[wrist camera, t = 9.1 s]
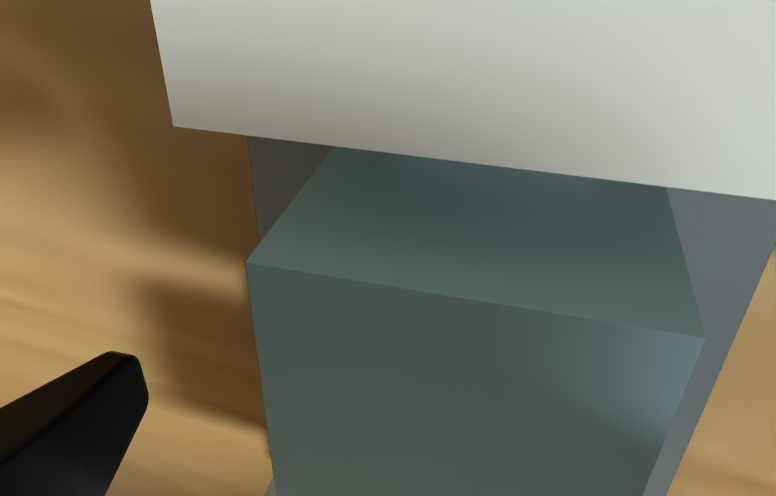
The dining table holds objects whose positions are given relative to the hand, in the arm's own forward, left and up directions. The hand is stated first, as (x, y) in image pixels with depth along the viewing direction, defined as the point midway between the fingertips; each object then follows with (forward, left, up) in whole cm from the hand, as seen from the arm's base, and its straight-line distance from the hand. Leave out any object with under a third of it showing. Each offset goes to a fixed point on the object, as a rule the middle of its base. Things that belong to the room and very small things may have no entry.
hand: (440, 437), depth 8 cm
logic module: (0, 0, -4) cm, 4 cm away
